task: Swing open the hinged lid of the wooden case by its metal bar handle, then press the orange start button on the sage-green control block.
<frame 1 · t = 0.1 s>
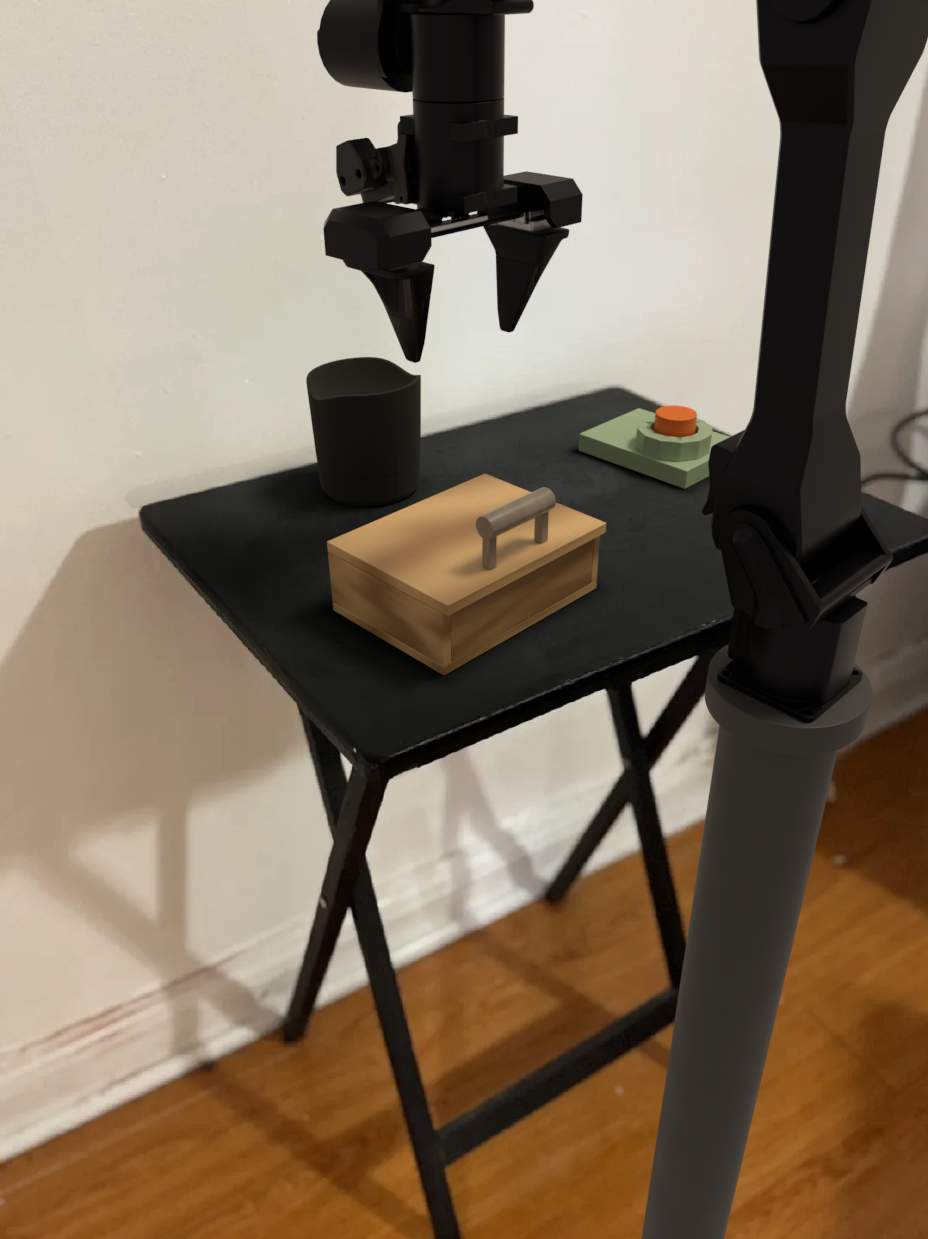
hand: (461, 345, 73), 16 cm above the table, tool pointing down, fingers open, 9 cm apart
control block: (659, 454, 96), on the table
start button: (675, 422, 92), point 4 cm above the table, slide at 0.2 cm
pen holder: (370, 488, 91), on the table
case lid: (468, 512, 71), point 7 cm above the table, hinge at 0.0°
wooden case: (466, 599, 75), on the table
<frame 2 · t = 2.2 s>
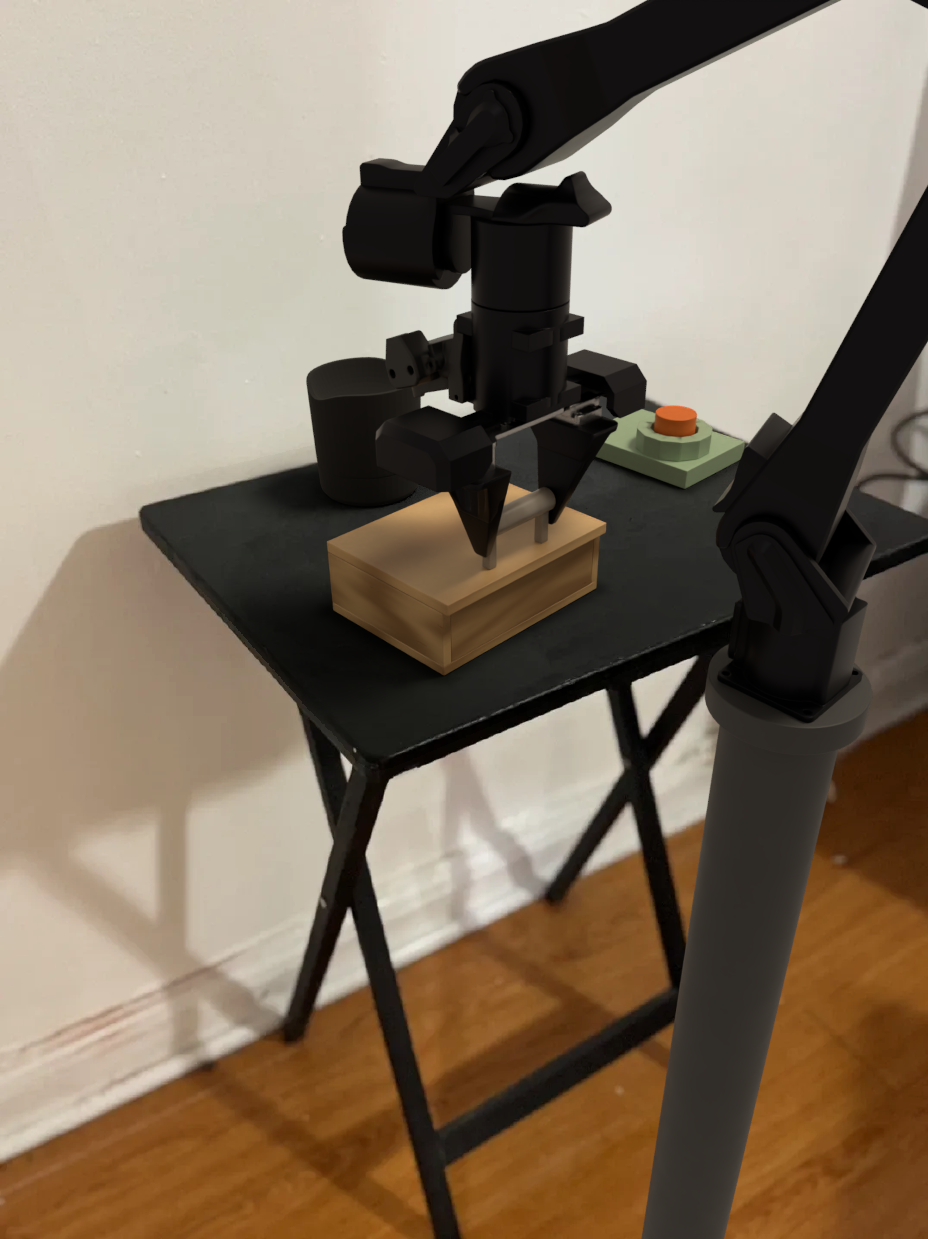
hand: (516, 538, 69), 7 cm above the table, tool pointing down, fingers closed on case lid, 6 cm apart
case lid: (468, 512, 71), point 7 cm above the table, hinge at 0.0°, touching gripper
everything else where it was.
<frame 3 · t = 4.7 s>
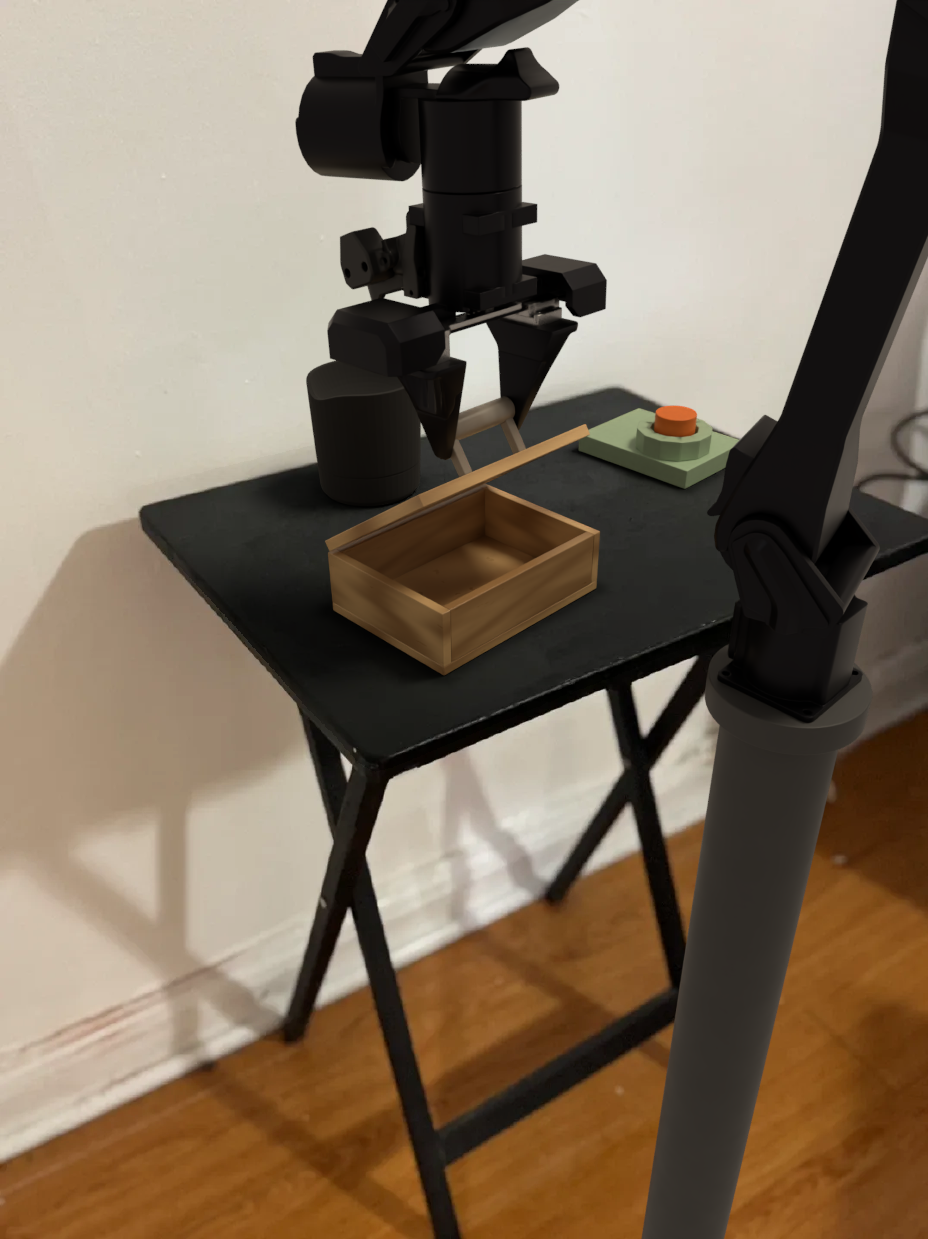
hand: (478, 443, 68), 12 cm above the table, tool pointing down, fingers closed on case lid, 6 cm apart
case lid: (445, 462, 71), point 10 cm above the table, hinge at 34.6°, touching gripper
everything else where it was.
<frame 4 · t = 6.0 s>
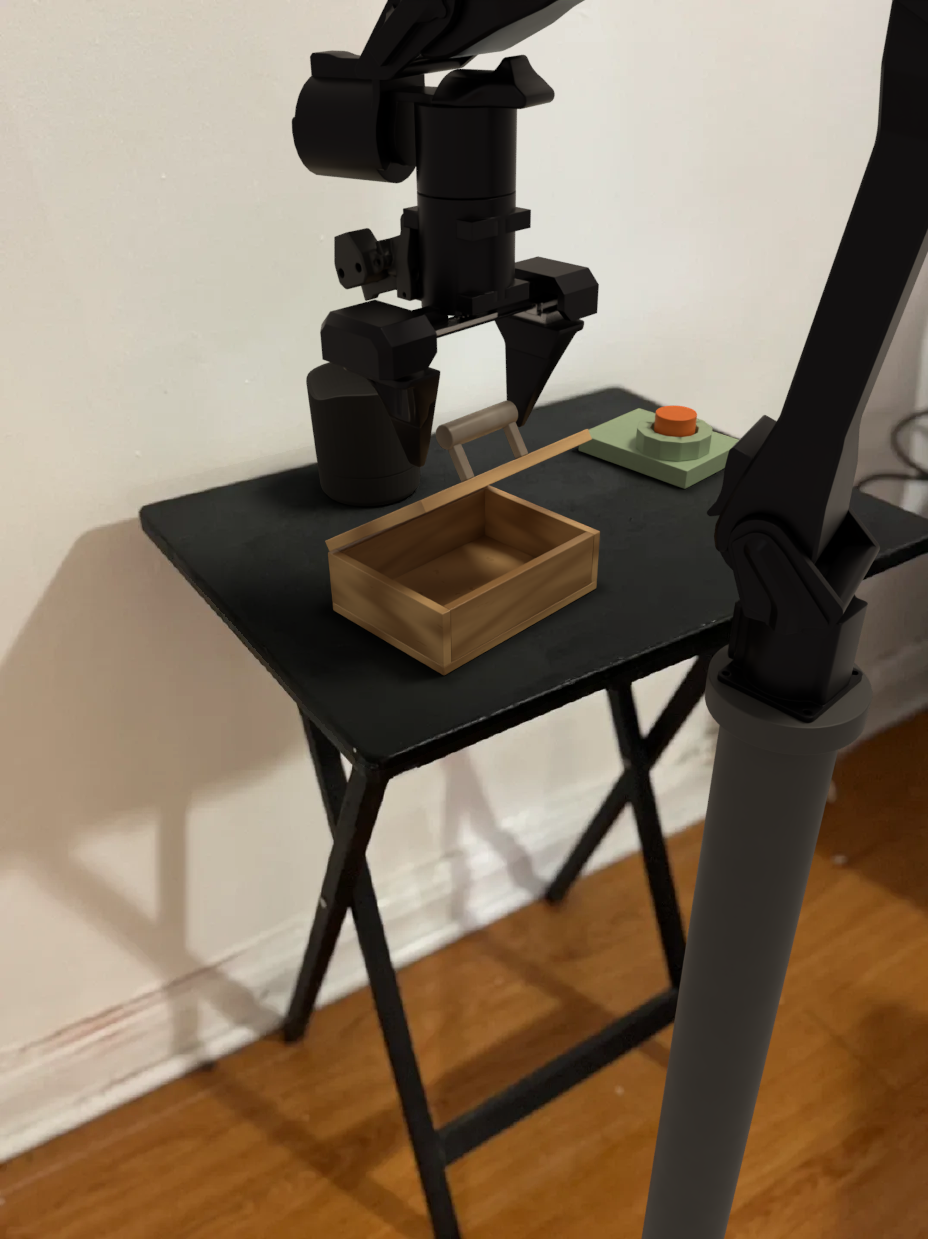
hand: (468, 444, 68), 12 cm above the table, tool pointing down, fingers open, 9 cm apart
case lid: (447, 464, 71), point 10 cm above the table, hinge at 32.9°
everything else where it was.
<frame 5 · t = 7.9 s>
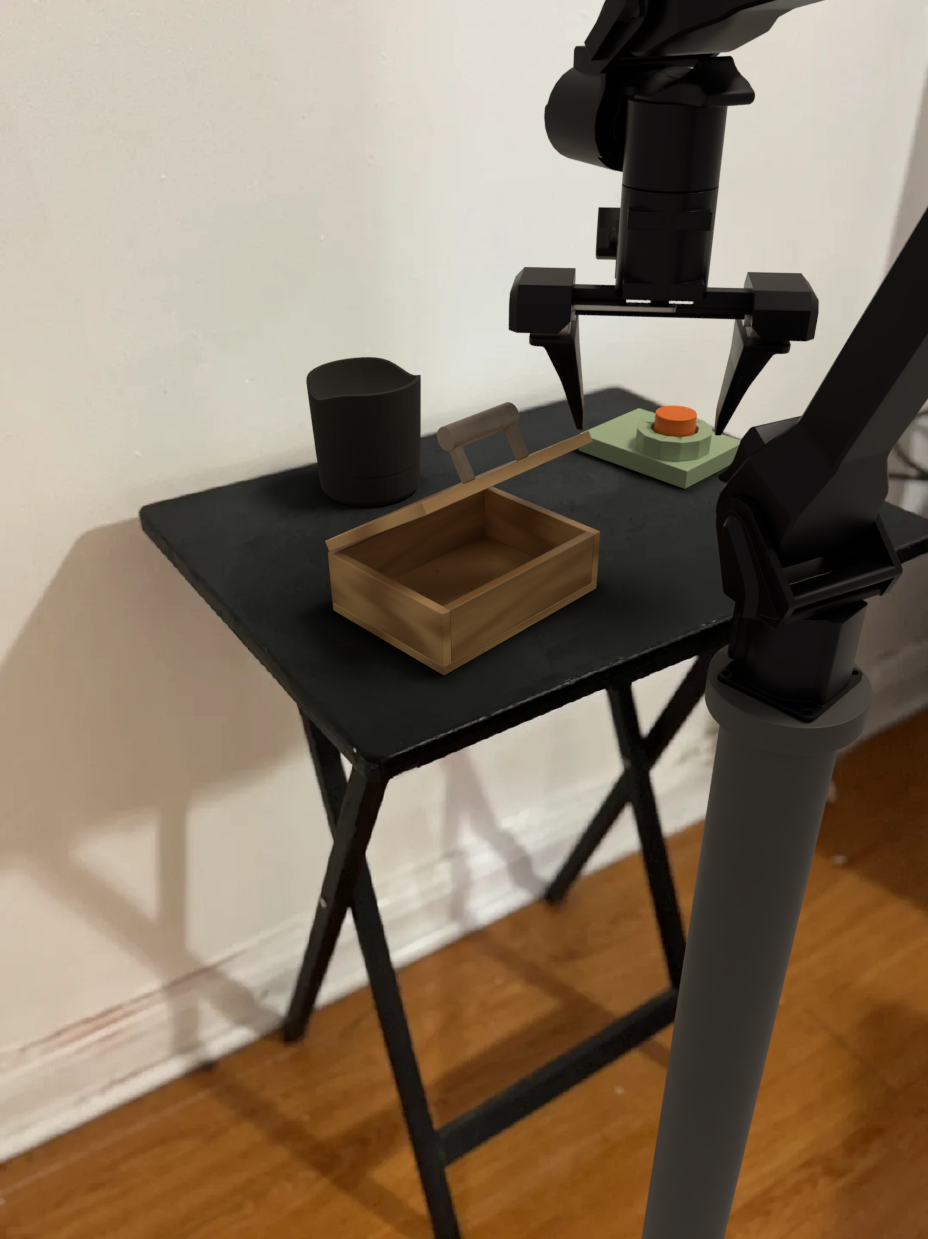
hand: (648, 430, 71), 12 cm above the table, tool pointing down, fingers open, 9 cm apart
case lid: (447, 465, 71), point 10 cm above the table, hinge at 32.1°
everything else where it was.
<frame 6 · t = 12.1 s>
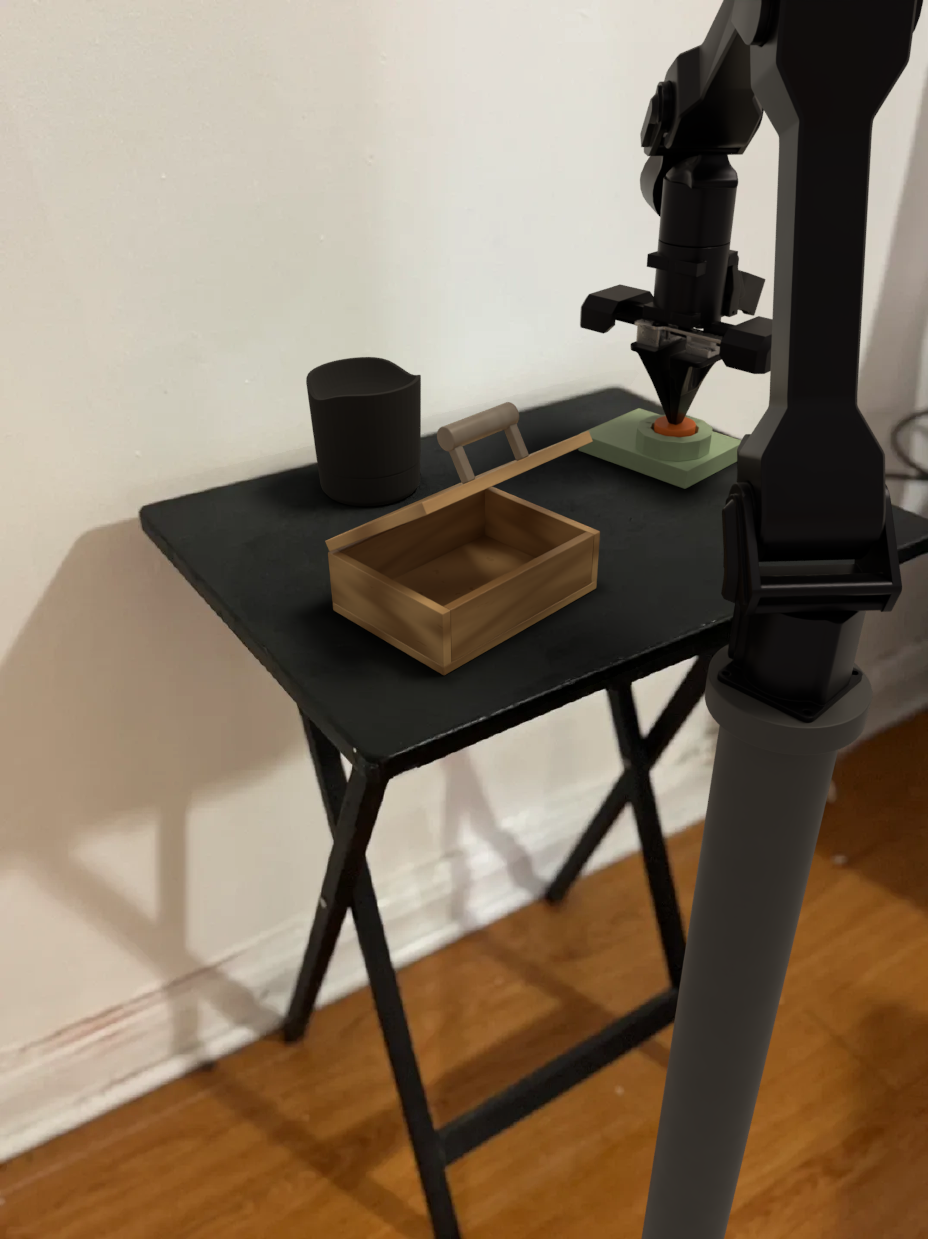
hand: (675, 422, 92), 4 cm above the table, tool pointing down, fingers closed, pressing on start button
start button: (674, 432, 93), point 3 cm above the table, slide at -0.8 cm, touching gripper
everything else where it was.
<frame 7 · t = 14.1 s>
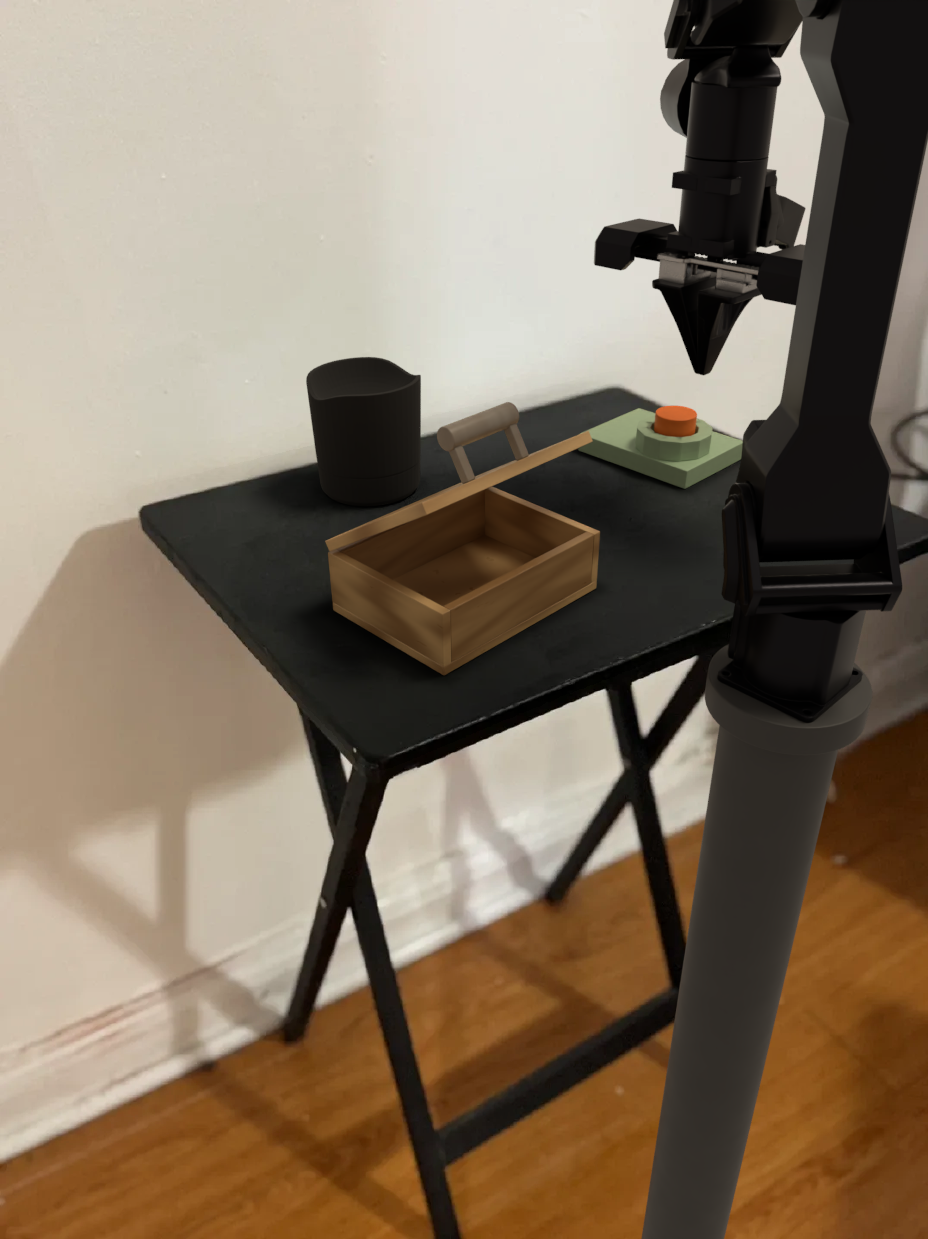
hand: (702, 373, 81), 11 cm above the table, tool pointing down, fingers closed
start button: (675, 422, 92), point 4 cm above the table, slide at 0.2 cm
everything else where it was.
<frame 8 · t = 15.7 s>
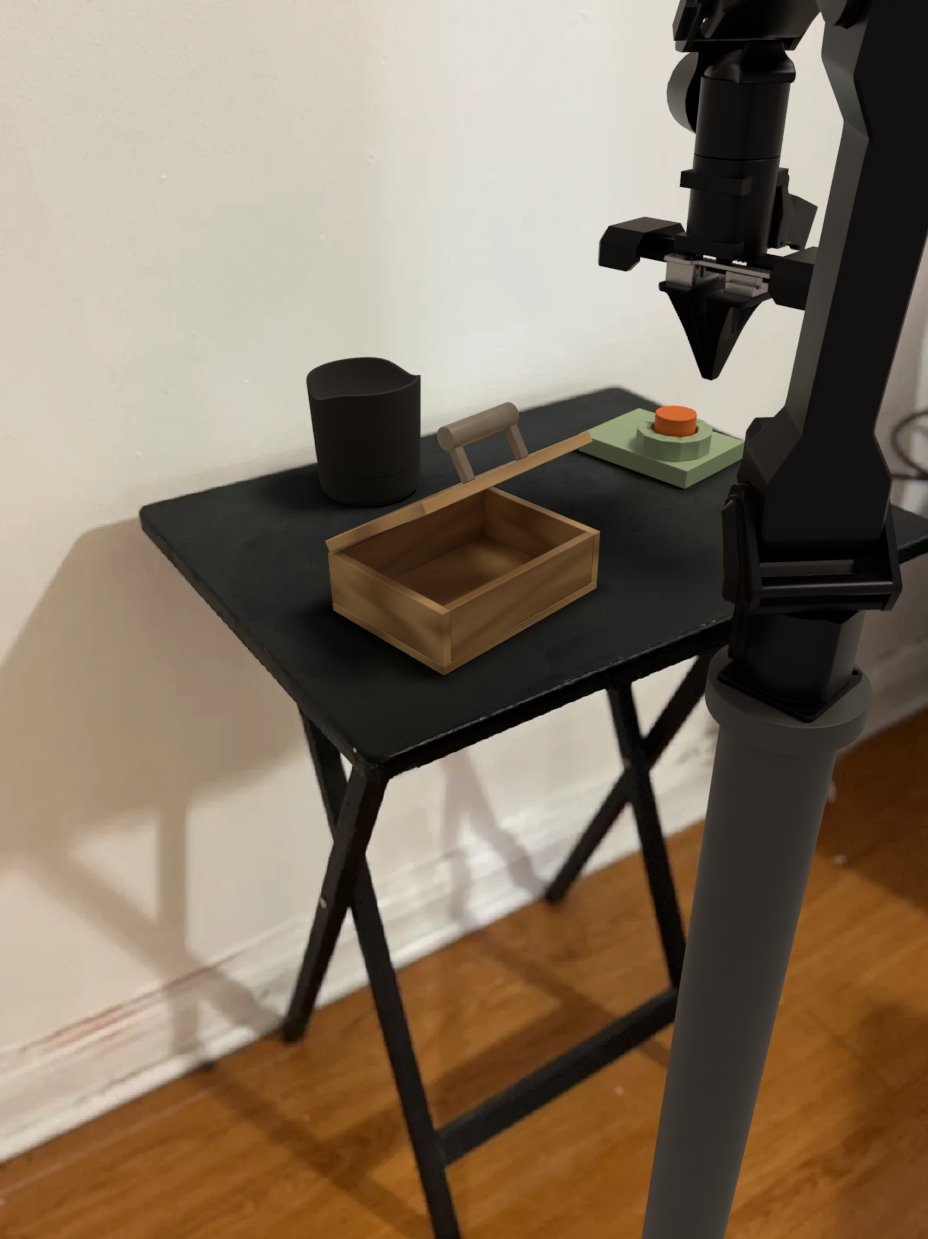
hand: (710, 378, 78), 12 cm above the table, tool pointing down, fingers closed
nothing on the table moved.
at the end: case lid at +32° (first picture: +0°); start button pushed in 1.1 cm at the most during the clip, back to 0.2 cm at the end; start button slide at 0.2 cm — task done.
